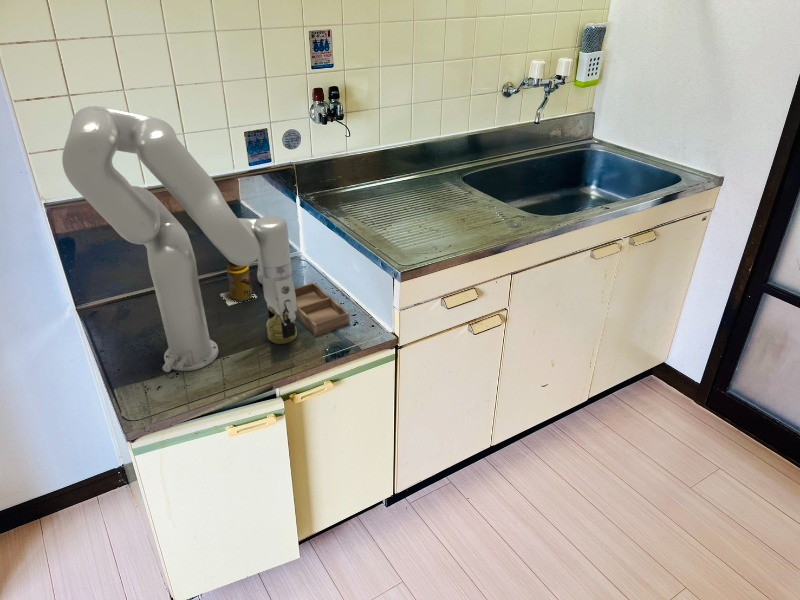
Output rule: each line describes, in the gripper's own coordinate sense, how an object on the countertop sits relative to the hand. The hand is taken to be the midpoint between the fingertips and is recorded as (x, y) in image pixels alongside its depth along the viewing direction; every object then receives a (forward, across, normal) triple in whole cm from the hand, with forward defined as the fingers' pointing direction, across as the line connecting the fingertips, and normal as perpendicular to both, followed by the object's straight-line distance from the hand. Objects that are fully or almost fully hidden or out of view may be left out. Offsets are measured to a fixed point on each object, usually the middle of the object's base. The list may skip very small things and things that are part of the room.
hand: (282, 328), depth 153 cm
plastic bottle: (+3, +28, -9) cm, 29 cm away
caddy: (+2, +5, -12) cm, 13 cm away
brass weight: (+3, 0, 0) cm, 3 cm away
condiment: (+3, +25, +2) cm, 26 cm away
